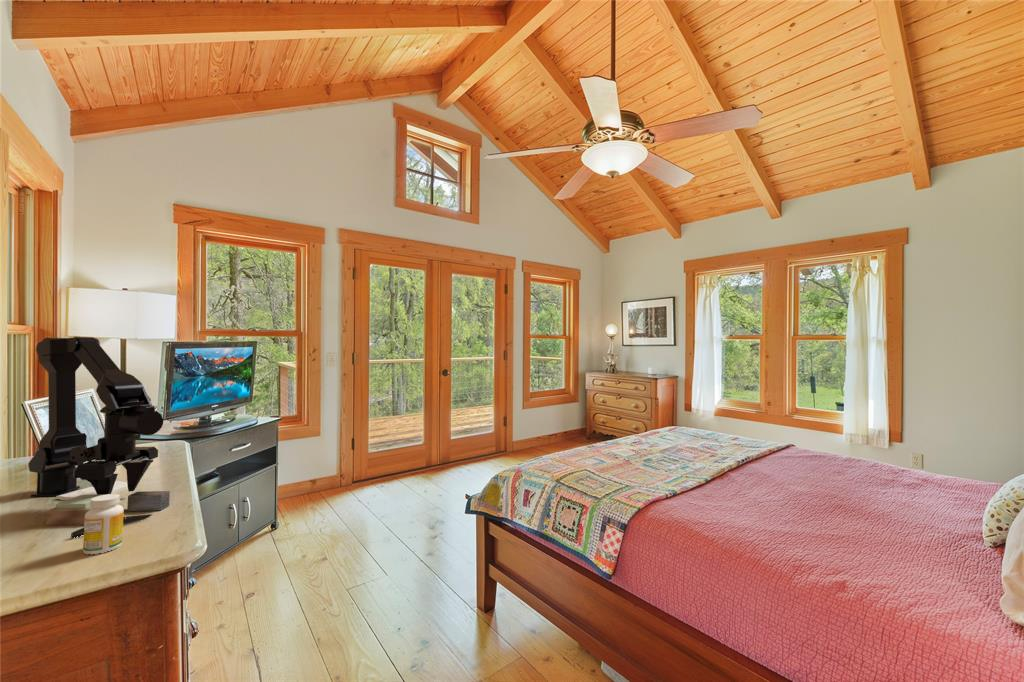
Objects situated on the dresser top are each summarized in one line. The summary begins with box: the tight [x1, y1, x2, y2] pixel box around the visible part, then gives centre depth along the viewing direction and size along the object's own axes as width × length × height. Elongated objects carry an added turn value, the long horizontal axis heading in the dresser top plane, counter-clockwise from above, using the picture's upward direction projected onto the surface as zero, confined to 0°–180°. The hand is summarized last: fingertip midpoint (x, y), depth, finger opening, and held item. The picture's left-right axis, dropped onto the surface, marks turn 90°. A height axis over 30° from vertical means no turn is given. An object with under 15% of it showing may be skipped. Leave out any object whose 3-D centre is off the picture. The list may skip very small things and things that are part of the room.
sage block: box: [55, 495, 101, 509], centre depth 96 cm, size 6×6×4 cm
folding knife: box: [70, 513, 154, 540], centre depth 91 cm, size 13×1×2 cm, turn 147°
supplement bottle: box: [82, 493, 125, 556], centre depth 82 cm, size 5×5×10 cm
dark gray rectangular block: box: [127, 490, 171, 512], centre depth 102 cm, size 7×3×4 cm, turn 98°
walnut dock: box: [46, 507, 92, 526], centre depth 94 cm, size 10×5×3 cm, turn 98°
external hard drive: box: [55, 480, 128, 501], centre depth 112 cm, size 2×8×12 cm
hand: (118, 496), depth 105 cm, fingers open, 8 cm apart
